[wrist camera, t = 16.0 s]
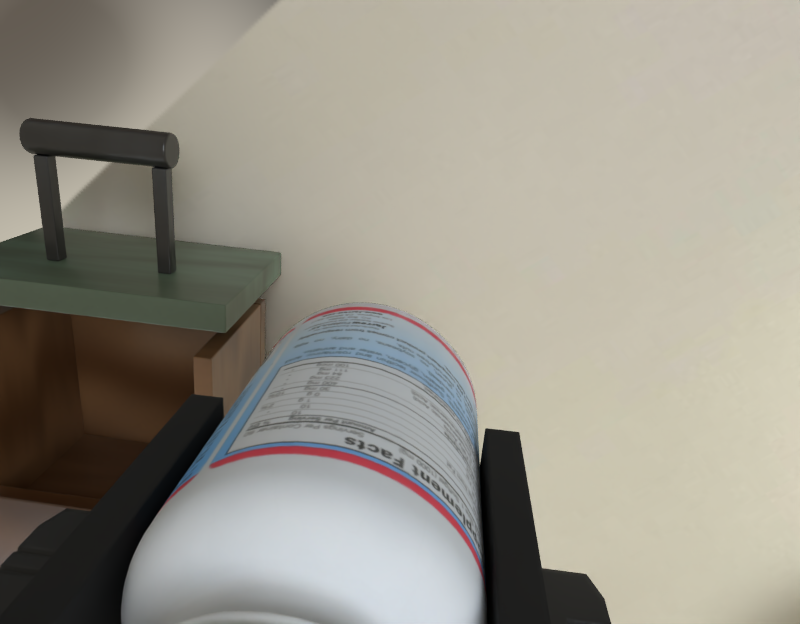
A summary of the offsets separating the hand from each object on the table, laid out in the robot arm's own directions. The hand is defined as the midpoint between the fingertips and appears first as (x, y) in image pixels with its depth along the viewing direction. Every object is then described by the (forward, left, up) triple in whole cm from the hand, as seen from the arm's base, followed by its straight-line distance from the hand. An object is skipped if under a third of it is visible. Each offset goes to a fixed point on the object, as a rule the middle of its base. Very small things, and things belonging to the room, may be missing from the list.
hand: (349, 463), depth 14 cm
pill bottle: (0, 0, -4) cm, 4 cm away
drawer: (+4, -13, -17) cm, 22 cm away
